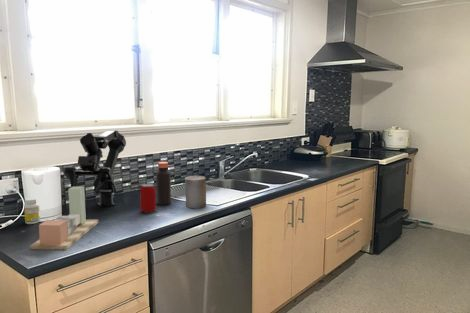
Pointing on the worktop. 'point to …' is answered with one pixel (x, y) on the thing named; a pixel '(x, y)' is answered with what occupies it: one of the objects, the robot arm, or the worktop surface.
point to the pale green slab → (77, 204)
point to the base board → (72, 231)
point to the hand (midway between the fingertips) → (83, 190)
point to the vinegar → (163, 184)
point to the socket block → (53, 232)
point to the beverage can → (147, 198)
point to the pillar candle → (195, 191)
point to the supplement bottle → (31, 211)
